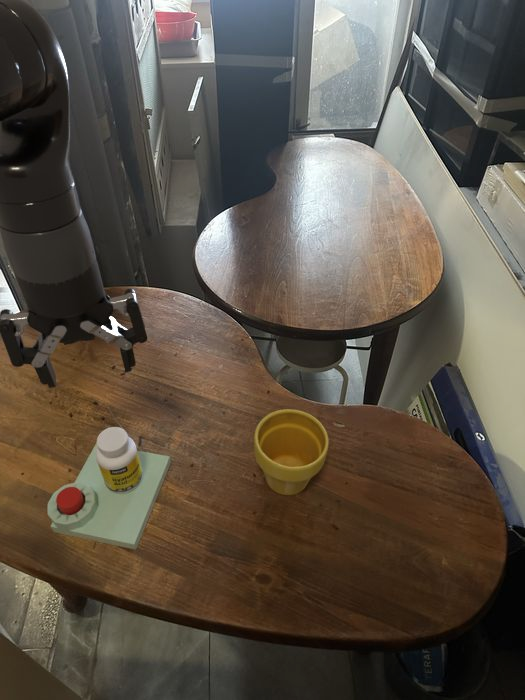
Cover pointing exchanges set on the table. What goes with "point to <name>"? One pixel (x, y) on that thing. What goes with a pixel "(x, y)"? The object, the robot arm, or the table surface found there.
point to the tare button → (70, 500)
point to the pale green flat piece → (111, 504)
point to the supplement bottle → (118, 460)
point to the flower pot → (290, 449)
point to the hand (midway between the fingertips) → (91, 374)
